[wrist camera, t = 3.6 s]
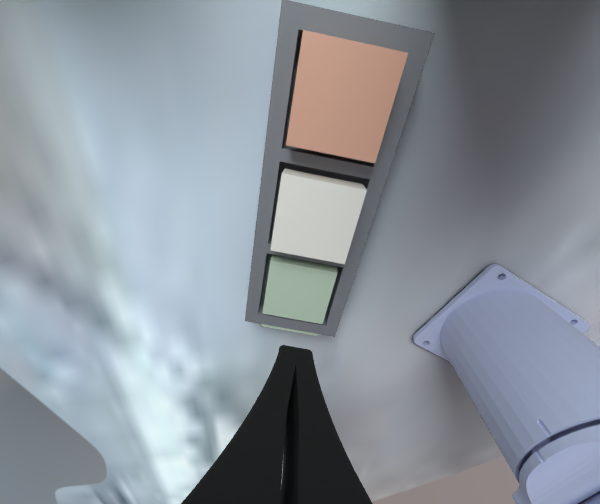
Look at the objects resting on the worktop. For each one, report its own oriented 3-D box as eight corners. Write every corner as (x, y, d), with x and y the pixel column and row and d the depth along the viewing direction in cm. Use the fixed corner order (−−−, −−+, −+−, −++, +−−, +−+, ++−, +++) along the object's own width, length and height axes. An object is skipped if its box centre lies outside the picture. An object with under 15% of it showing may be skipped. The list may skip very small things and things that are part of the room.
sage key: (322, 310, 18) (322, 324, 17) (266, 300, 18) (262, 313, 17) (335, 261, 17) (337, 272, 15) (273, 249, 16) (270, 260, 15)
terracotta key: (369, 159, 13) (375, 163, 11) (288, 142, 13) (285, 145, 11) (397, 60, 11) (408, 52, 10) (304, 40, 11) (302, 29, 10)
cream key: (342, 252, 15) (344, 264, 14) (274, 239, 15) (270, 250, 14) (362, 183, 13) (367, 190, 12) (284, 168, 13) (281, 173, 12)
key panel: (331, 318, 20) (333, 339, 18) (251, 304, 20) (244, 324, 18) (415, 47, 12) (434, 33, 10) (287, 19, 12) (282, -2, 10)
